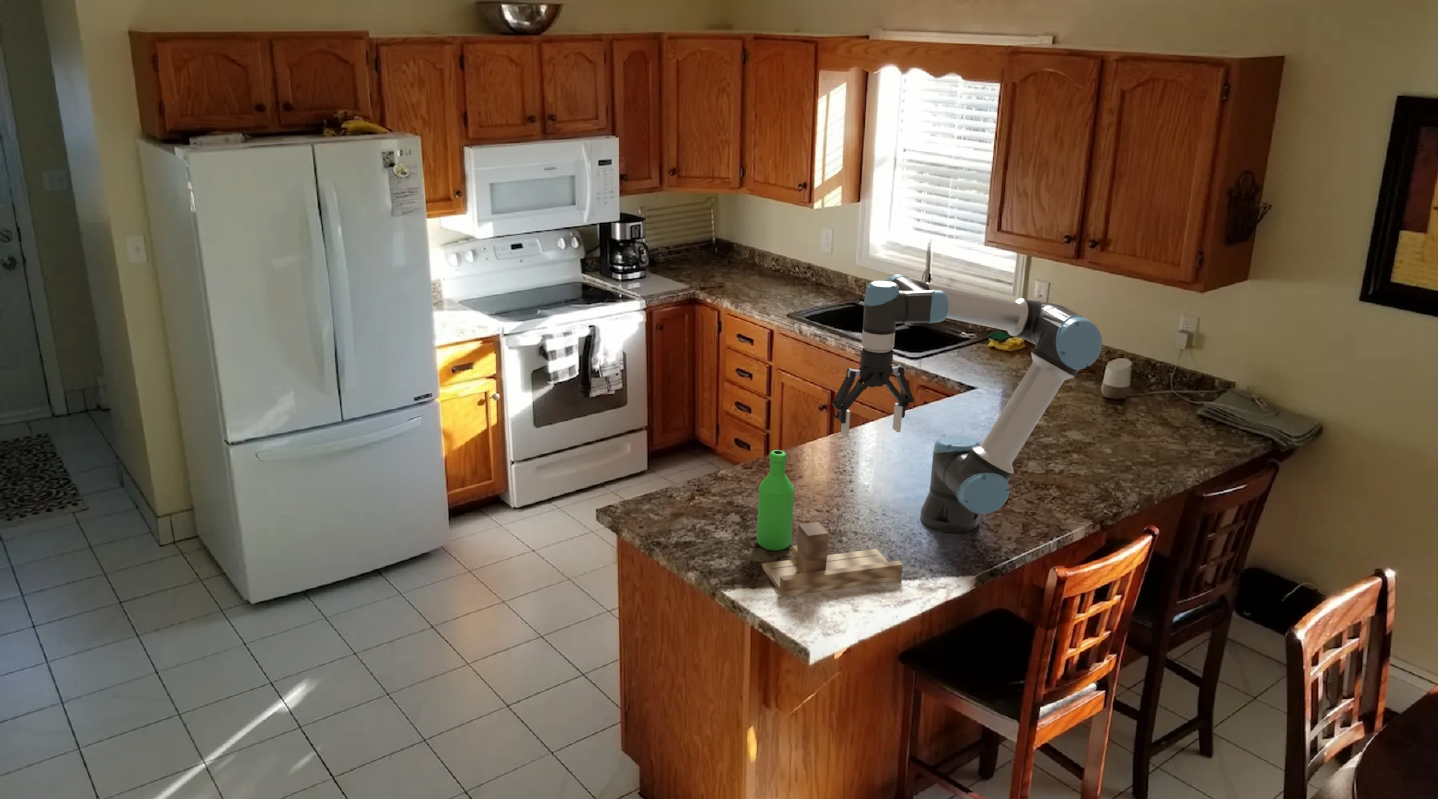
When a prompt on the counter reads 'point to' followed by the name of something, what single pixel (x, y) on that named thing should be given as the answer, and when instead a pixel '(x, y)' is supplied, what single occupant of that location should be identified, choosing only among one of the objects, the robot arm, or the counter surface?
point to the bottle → (775, 506)
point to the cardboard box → (811, 548)
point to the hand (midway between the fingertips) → (870, 432)
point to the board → (828, 567)
